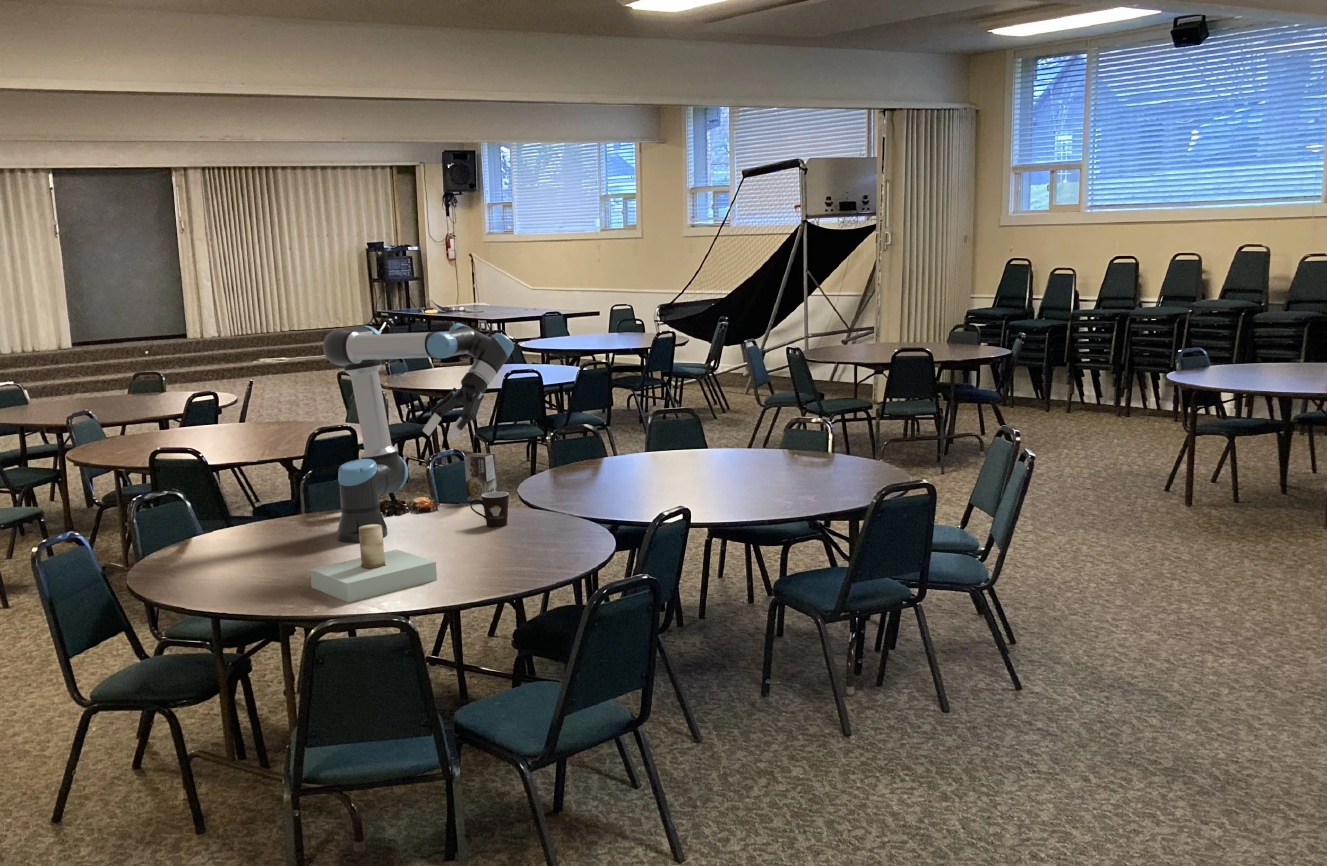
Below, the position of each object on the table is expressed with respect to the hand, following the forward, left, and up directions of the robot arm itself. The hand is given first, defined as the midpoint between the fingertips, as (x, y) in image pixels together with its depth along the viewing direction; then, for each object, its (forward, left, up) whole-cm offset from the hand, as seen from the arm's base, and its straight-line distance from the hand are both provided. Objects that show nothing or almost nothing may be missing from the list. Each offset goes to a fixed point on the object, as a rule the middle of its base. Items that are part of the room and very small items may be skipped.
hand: (438, 435), depth 338 cm
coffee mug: (-12, +25, -34) cm, 44 cm away
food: (-54, +20, -34) cm, 68 cm away
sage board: (+18, -34, -34) cm, 51 cm away
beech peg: (+18, -34, -33) cm, 51 cm away
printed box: (-47, +45, -34) cm, 74 cm away
